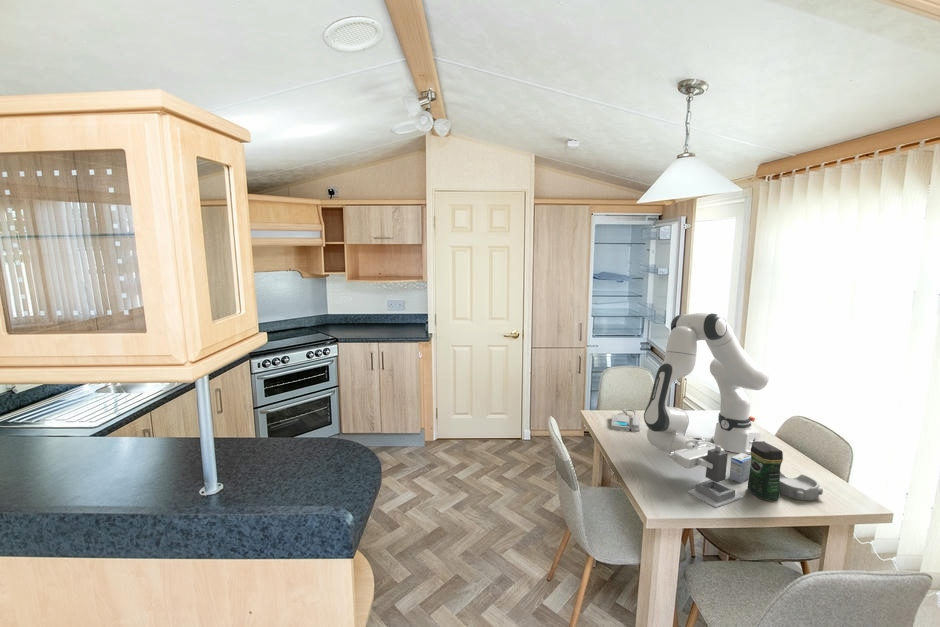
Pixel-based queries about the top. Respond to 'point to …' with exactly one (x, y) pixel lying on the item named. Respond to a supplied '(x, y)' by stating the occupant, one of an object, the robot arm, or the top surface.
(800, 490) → the dish
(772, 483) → the coffee jar
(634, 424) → the intercom
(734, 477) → the medicine box
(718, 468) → the plug
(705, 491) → the socket plate
